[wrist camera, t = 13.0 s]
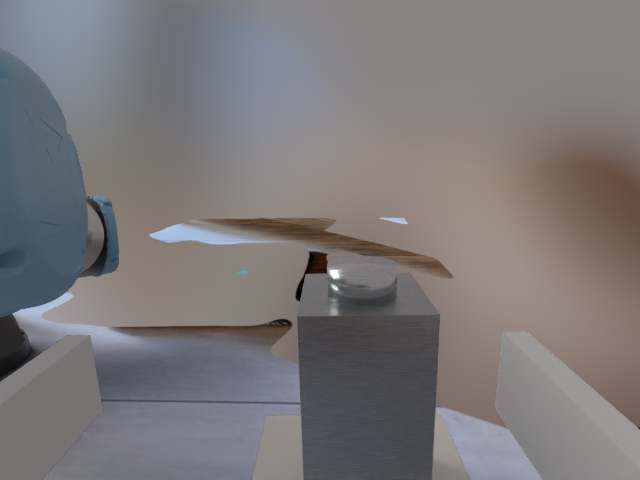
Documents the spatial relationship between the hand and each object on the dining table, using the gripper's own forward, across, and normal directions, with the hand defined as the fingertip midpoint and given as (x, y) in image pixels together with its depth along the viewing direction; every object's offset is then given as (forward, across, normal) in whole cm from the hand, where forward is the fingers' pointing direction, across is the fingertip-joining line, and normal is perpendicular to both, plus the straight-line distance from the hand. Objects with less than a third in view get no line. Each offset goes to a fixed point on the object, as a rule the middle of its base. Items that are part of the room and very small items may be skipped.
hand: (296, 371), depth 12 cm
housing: (+10, +3, -15) cm, 18 cm away
